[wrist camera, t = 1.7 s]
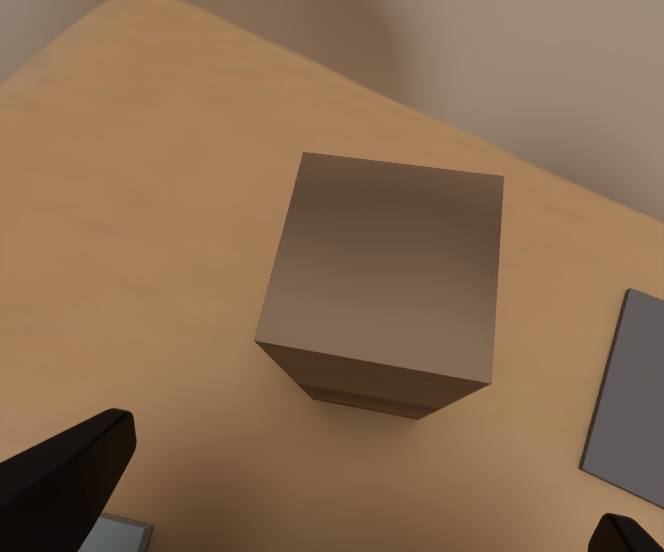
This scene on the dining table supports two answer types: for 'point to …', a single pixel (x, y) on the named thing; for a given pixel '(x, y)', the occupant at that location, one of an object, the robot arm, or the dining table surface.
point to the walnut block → (385, 284)
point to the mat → (632, 404)
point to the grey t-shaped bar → (117, 535)
